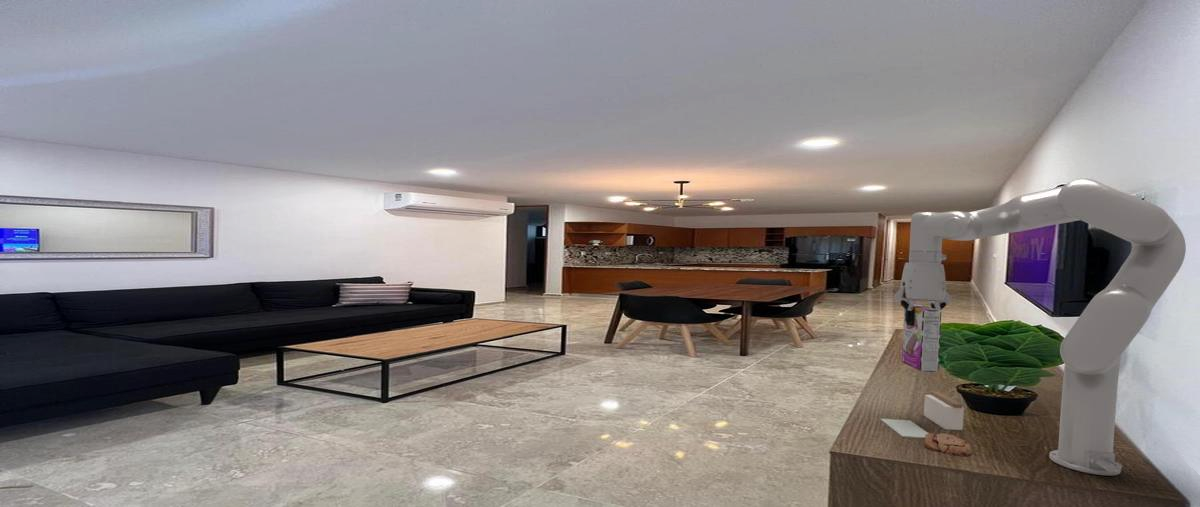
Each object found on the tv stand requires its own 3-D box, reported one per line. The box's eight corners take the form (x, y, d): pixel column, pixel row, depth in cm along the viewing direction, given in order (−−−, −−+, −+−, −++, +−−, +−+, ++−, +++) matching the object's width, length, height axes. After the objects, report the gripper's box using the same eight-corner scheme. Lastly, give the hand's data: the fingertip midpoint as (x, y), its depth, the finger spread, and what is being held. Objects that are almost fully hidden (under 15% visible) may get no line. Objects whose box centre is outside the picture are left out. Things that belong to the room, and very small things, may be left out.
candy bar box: (900, 362, 164) (903, 304, 164) (918, 363, 164) (921, 304, 163) (919, 371, 153) (923, 308, 153) (939, 372, 153) (943, 309, 152)
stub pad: (935, 439, 148) (935, 437, 148) (902, 436, 149) (902, 435, 149) (910, 421, 162) (910, 420, 162) (880, 419, 163) (880, 418, 163)
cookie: (961, 460, 135) (961, 447, 135) (914, 445, 144) (915, 433, 143) (980, 452, 141) (981, 440, 141) (934, 439, 149) (934, 427, 149)
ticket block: (963, 430, 156) (965, 404, 156) (942, 429, 156) (944, 403, 156) (939, 415, 169) (940, 391, 168) (920, 414, 169) (921, 390, 169)
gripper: (951, 259, 160) (948, 325, 161) (886, 256, 162) (882, 322, 163) (965, 260, 153) (961, 329, 153) (896, 257, 155) (893, 326, 155)
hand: (921, 325), depth 158 cm, fingers closed on candy bar box, 5 cm apart
